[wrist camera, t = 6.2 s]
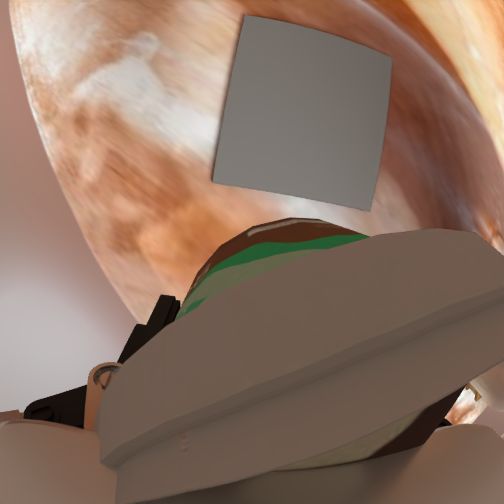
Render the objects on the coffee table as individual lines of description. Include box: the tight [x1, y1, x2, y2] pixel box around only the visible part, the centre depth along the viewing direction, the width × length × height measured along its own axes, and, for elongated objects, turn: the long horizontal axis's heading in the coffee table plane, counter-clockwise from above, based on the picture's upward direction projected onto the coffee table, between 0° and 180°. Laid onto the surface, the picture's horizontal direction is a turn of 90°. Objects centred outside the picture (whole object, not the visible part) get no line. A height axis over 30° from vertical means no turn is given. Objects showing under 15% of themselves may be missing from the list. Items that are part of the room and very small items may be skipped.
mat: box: [212, 15, 392, 212], centre depth 27 cm, size 18×20×1 cm
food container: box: [94, 217, 504, 504], centre depth 8 cm, size 12×6×10 cm, turn 172°
